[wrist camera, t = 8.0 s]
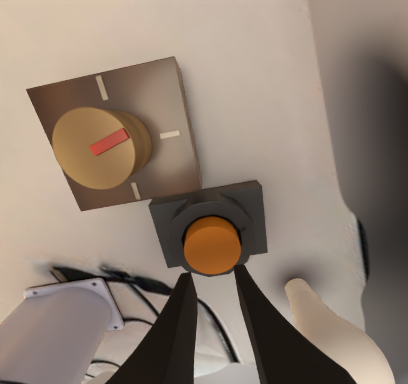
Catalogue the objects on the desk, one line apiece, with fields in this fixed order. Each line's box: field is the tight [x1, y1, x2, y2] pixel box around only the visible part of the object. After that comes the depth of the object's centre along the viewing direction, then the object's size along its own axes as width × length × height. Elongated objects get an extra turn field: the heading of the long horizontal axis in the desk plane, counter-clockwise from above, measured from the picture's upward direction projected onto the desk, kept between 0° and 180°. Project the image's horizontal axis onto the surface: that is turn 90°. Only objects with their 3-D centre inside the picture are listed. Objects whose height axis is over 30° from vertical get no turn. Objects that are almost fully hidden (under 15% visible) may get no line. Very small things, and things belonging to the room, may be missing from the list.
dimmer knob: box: [52, 107, 152, 189], centre depth 12 cm, size 4×4×4 cm
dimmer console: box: [26, 56, 202, 211], centre depth 15 cm, size 10×9×3 cm
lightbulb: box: [285, 279, 395, 384], centre depth 17 cm, size 6×6×11 cm
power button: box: [184, 216, 241, 274], centre depth 16 cm, size 4×4×2 cm
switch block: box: [149, 180, 268, 277], centre depth 18 cm, size 10×7×4 cm
